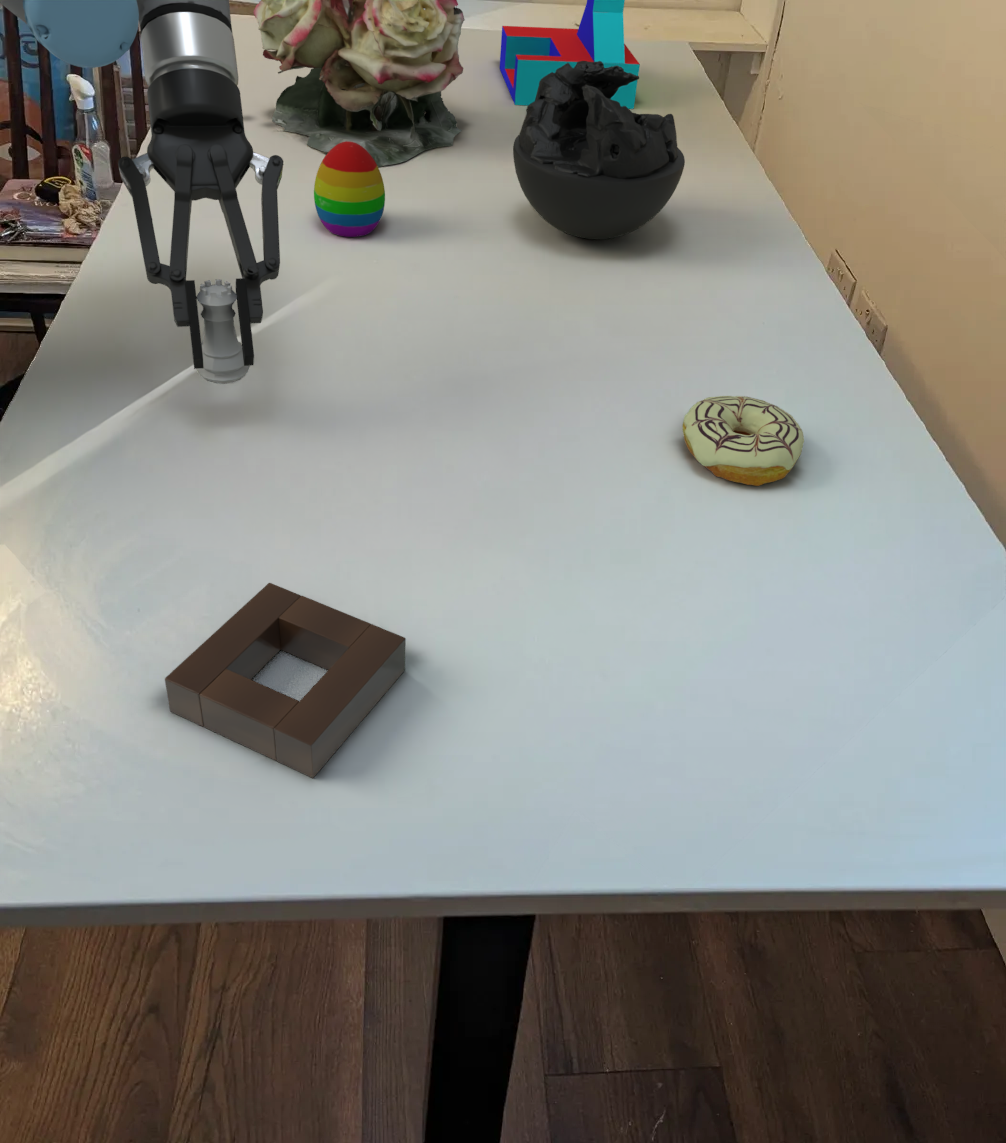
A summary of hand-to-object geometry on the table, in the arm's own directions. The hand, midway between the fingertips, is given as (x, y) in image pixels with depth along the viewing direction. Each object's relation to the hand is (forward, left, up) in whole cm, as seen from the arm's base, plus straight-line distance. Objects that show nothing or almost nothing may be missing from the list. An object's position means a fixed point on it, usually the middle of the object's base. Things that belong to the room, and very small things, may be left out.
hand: (223, 361), depth 92 cm
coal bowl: (+8, +60, -8) cm, 61 cm away
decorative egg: (-16, +44, -8) cm, 48 cm away
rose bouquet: (-31, +74, -8) cm, 81 cm away
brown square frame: (+22, -22, -8) cm, 32 cm away
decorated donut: (+39, +22, -8) cm, 45 cm away
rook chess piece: (-3, +3, -3) cm, 5 cm away
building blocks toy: (-21, +114, -8) cm, 116 cm away
